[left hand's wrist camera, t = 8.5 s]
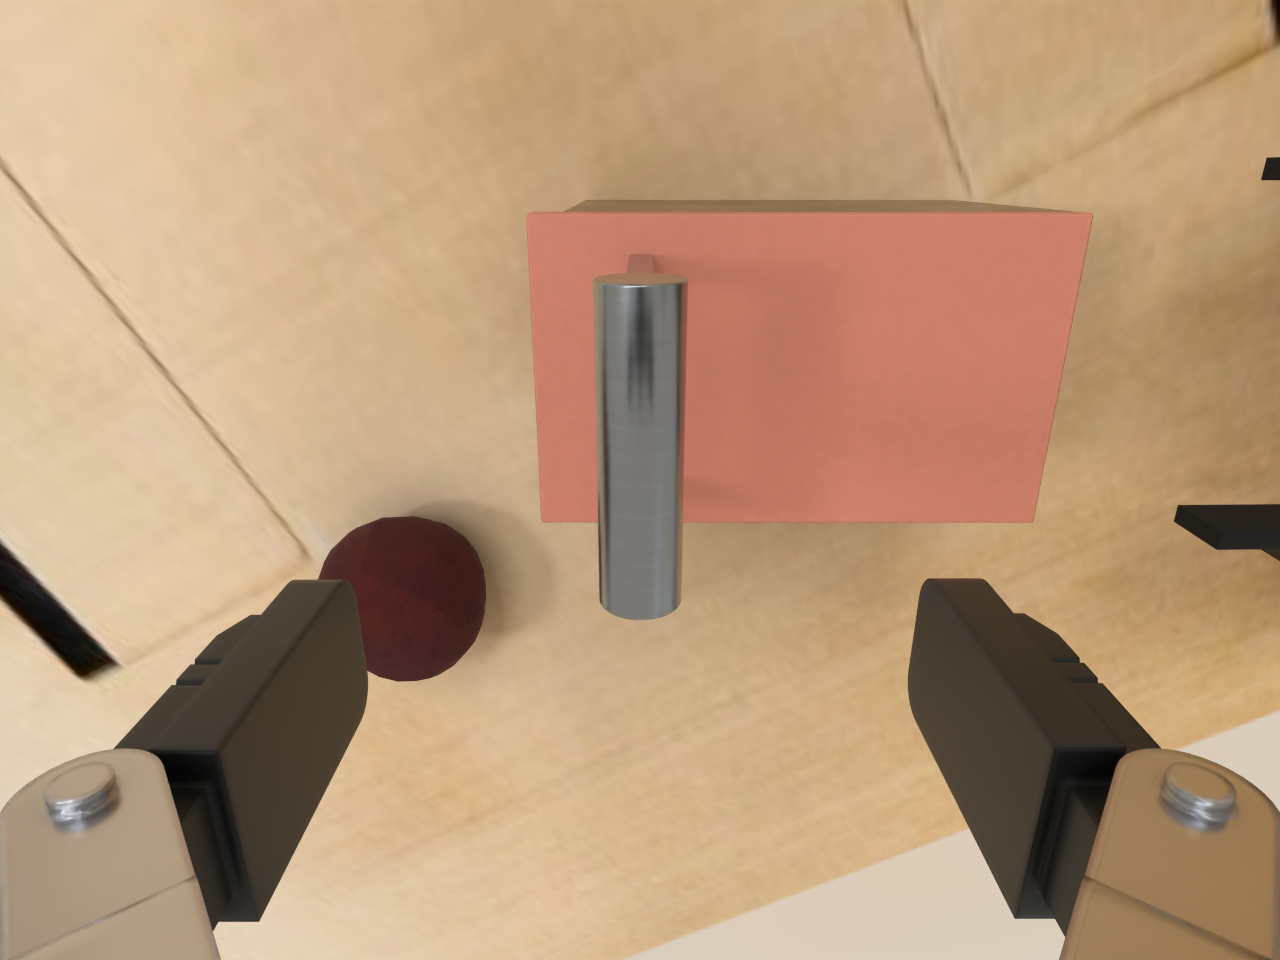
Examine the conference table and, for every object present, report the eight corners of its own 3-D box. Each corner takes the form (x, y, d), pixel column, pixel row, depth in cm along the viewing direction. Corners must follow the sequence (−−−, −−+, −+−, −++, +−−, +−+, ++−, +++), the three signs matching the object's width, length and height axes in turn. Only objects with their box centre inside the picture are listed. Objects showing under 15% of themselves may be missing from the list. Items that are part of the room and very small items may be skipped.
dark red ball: (454, 649, 42) (420, 738, 35) (321, 576, 40) (259, 654, 34) (527, 545, 40) (504, 619, 33) (388, 463, 38) (336, 524, 32)
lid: (544, 511, 28) (503, 656, 20) (530, 211, 24) (472, 232, 16) (1020, 511, 28) (1183, 657, 20) (1077, 211, 24) (1305, 232, 16)
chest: (589, 425, 38) (572, 511, 28) (584, 200, 34) (562, 211, 25) (924, 425, 38) (1020, 511, 28) (954, 200, 34) (1076, 211, 24)
